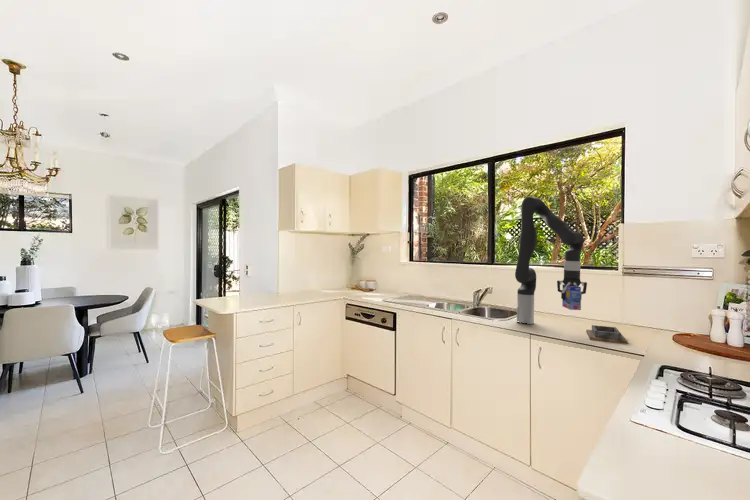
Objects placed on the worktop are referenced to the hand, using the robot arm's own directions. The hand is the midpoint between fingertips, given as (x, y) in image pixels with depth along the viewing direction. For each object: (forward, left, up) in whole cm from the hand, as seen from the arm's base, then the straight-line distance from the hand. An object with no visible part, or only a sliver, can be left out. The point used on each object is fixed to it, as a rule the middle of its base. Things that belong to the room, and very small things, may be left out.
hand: (571, 300), depth 178 cm
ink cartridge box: (0, 0, -4) cm, 4 cm away
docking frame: (+15, -2, -17) cm, 23 cm away
